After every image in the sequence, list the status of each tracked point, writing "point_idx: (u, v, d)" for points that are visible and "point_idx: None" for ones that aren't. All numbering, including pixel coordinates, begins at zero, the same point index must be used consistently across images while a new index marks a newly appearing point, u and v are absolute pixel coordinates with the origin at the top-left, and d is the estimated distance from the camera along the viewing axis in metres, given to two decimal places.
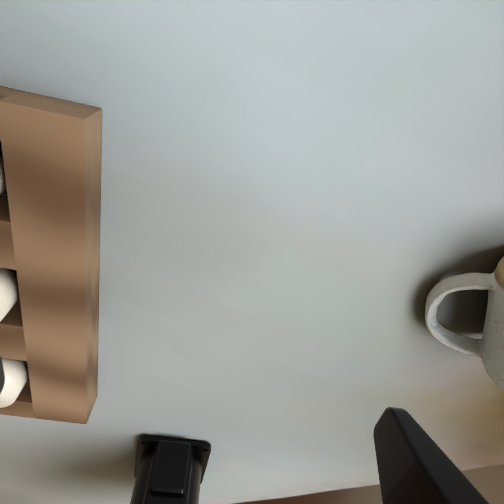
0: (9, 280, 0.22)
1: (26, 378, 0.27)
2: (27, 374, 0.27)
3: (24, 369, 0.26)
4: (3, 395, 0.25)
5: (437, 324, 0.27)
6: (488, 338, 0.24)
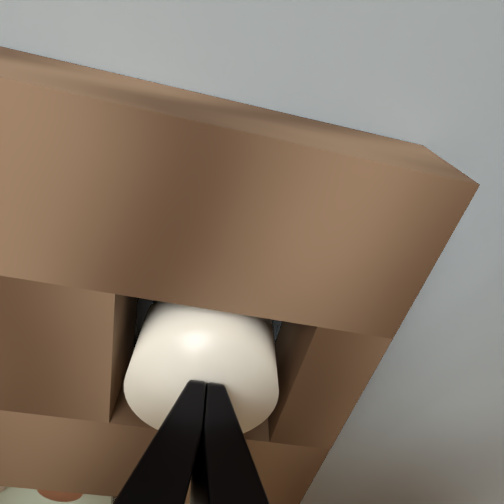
0: None
1: None
2: None
3: None
4: (221, 368, 0.08)
5: None
6: None
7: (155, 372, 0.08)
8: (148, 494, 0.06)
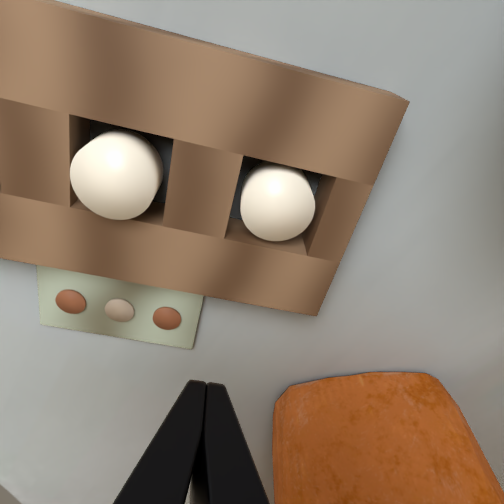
0: (101, 134, 0.17)
1: None
2: None
3: (271, 163, 0.19)
4: (289, 192, 0.18)
5: None
6: None
7: (257, 194, 0.18)
8: (148, 494, 0.06)
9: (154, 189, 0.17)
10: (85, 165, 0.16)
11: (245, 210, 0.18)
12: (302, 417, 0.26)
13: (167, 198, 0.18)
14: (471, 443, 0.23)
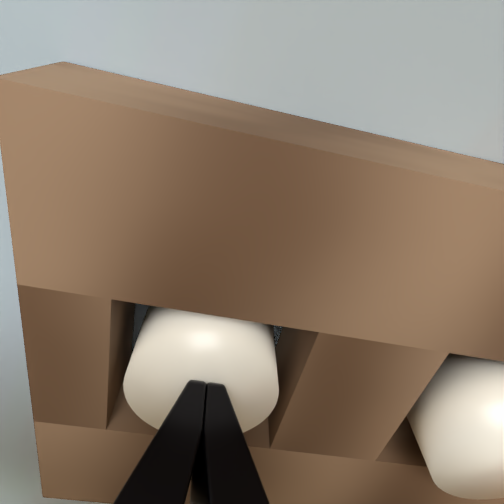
0: (471, 367, 0.09)
1: None
2: None
3: None
4: None
5: None
6: None
7: None
8: (148, 494, 0.06)
9: None
10: (474, 442, 0.09)
11: None
12: None
13: None
14: None
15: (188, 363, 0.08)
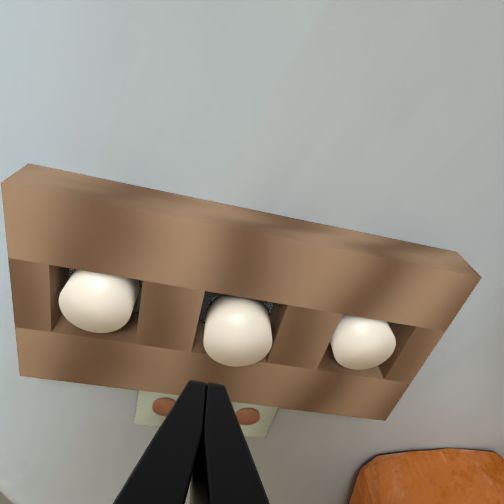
0: (225, 300, 0.20)
1: None
2: None
3: None
4: (375, 337, 0.21)
5: None
6: None
7: (349, 338, 0.21)
8: (148, 494, 0.06)
9: None
10: (218, 331, 0.19)
11: (337, 349, 0.22)
12: (398, 489, 0.29)
13: (274, 343, 0.21)
14: None
15: (86, 291, 0.19)
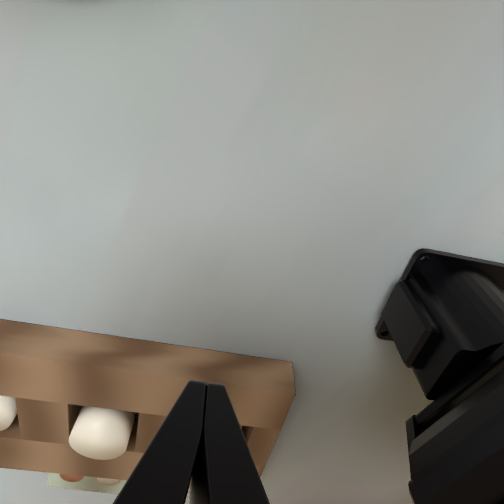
0: (89, 407, 0.24)
1: None
2: None
3: None
4: None
5: None
6: None
7: None
8: (148, 494, 0.06)
9: (126, 445, 0.24)
10: (79, 436, 0.24)
11: None
12: None
13: (137, 439, 0.26)
14: None
15: None
